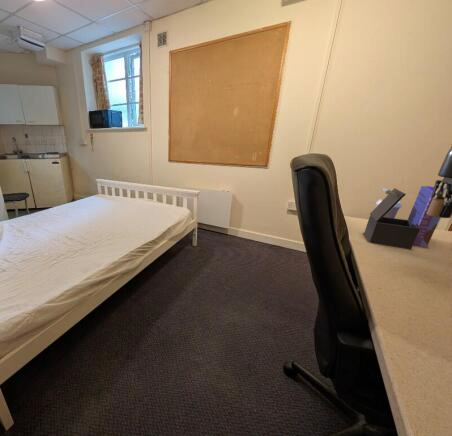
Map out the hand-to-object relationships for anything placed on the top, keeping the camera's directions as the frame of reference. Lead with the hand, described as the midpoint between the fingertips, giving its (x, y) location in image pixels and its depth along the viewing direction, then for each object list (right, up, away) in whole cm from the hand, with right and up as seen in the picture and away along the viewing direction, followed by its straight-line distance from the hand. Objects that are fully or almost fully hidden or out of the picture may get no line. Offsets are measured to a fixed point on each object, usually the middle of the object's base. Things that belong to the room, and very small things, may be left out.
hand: (438, 214), depth 72 cm
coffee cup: (+25, -7, +44) cm, 51 cm away
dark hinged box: (+13, -12, +30) cm, 35 cm away
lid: (+10, +4, +26) cm, 28 cm away
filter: (0, 0, 0) cm, 0 cm away
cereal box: (+28, -12, +31) cm, 43 cm away
